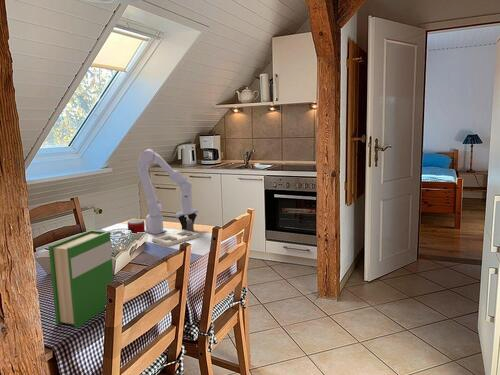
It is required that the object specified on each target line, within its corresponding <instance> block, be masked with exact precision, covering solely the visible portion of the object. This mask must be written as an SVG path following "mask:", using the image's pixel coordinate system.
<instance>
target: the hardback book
mask: <svg viewBox="0 0 500 375" xmlns="http://www.w3.org/2000/svg"><path fill="white" fill-rule="evenodd" d="M48 254H49V264H50V274H51V283H52V284H51V285H52V296H53V303H54V304H53V305H54V316H55V323H56V326H59V325H62V324H63V323H64V324H71V325H73V328H74V329H78V328H80V327H81V326H83V325H85V323H86V321H87V322H89V321H90V320H91V319H93V318H94V317H96V316H97V315H99V314H100V313H101V312H104V310H106V309H105V305H106V287H107V285H108V284H110V283H113V282H114V270H113V269H114V268H113V258H112V257H113V256H112V243H111V231H105V230H98V229H97V230H95V229H90V230H87V231H84V232H82V233H80V234H76V235H74V236H71V237H69V238H66V239H64V240H61V241H58V242H56V243H53V244H50V245H48ZM95 315H96V316H95ZM93 316H94V317H93ZM92 317H93V318H92ZM89 319H90V320H89Z"/></svg>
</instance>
